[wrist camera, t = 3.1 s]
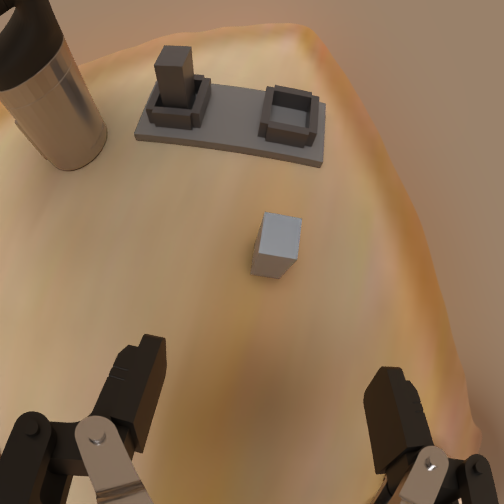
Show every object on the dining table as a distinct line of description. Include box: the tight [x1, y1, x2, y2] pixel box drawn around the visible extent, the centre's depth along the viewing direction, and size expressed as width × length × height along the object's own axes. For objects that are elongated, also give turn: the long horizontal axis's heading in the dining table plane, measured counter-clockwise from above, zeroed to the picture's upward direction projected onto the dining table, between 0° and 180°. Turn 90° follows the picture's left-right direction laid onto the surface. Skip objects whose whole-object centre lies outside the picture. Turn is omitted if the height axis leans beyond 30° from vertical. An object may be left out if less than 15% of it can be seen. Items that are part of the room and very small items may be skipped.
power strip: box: [134, 46, 326, 168], centre depth 35 cm, size 24×10×11 cm, turn 81°
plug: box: [250, 212, 302, 279], centre depth 31 cm, size 3×4×10 cm
